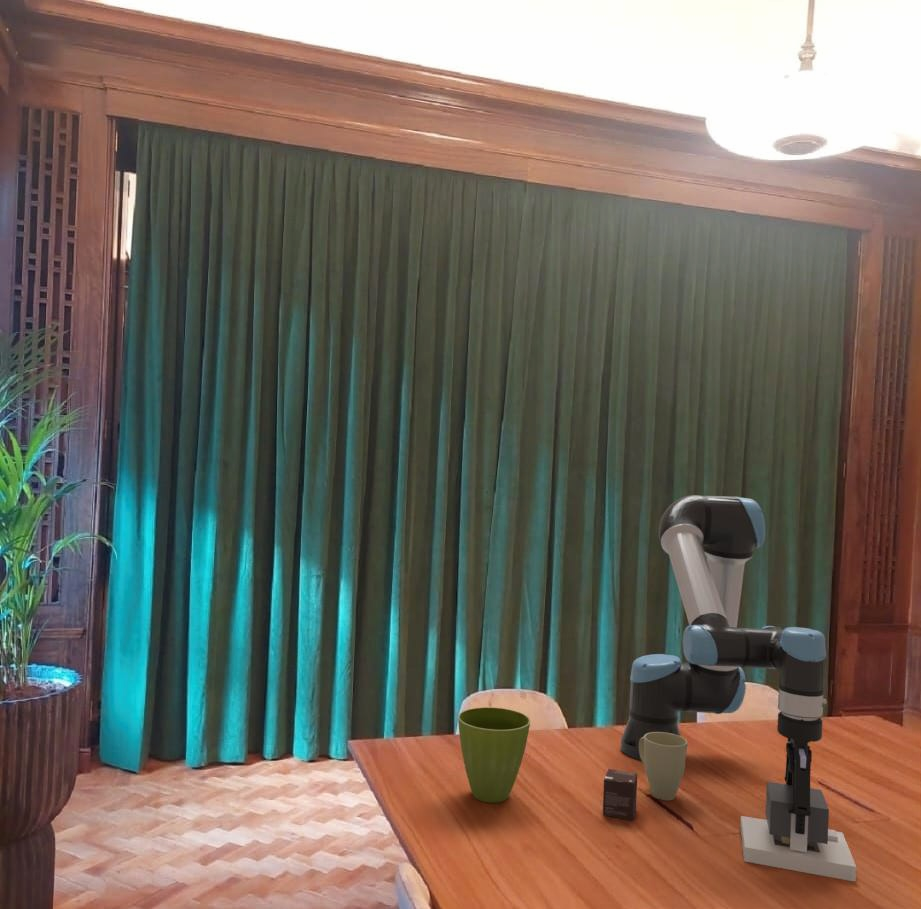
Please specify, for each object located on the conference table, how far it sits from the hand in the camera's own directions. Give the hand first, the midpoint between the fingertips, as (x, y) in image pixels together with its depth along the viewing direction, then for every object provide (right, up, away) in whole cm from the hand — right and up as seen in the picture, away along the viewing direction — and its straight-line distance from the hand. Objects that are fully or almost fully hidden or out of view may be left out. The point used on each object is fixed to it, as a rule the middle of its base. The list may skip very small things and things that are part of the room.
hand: (795, 837), depth 145 cm
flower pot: (-55, -1, +19) cm, 58 cm away
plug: (0, 0, 0) cm, 0 cm away
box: (-29, -2, +14) cm, 33 cm away
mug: (-19, -3, +24) cm, 31 cm away
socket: (0, -3, 0) cm, 3 cm away
